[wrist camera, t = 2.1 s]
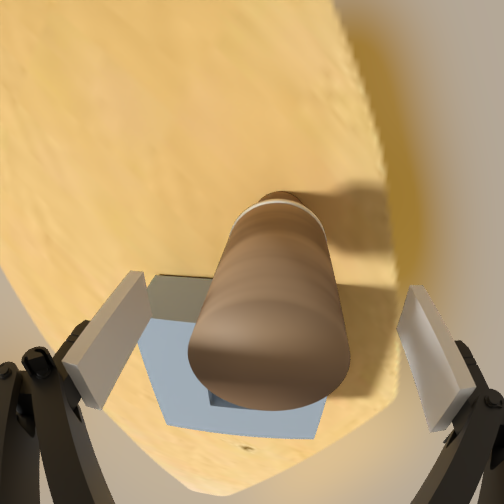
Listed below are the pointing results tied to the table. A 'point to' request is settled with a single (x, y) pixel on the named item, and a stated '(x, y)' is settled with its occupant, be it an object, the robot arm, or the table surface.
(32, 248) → the table surface
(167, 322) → the seat block
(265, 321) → the peg
